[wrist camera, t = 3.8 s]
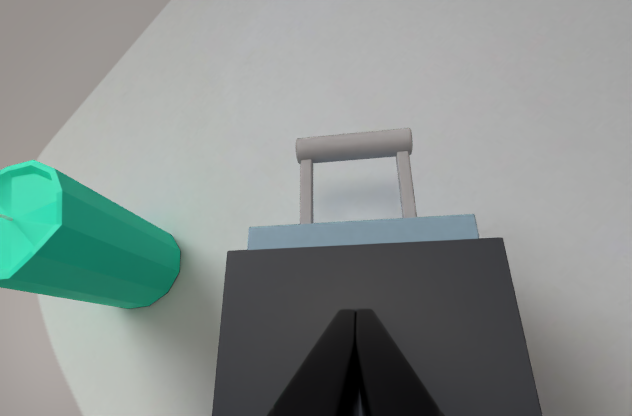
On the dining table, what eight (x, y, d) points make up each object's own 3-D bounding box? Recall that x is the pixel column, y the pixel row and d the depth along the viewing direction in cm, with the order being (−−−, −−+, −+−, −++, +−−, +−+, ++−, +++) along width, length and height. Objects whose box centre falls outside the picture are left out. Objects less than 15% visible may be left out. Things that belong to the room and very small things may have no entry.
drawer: (284, 189, 25) (255, 135, 19) (433, 178, 23) (455, 116, 17) (276, 448, 19) (229, 497, 13) (476, 454, 17) (533, 513, 11)
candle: (92, 302, 25) (-132, 265, 14) (121, 224, 27) (-52, 137, 16) (166, 315, 24) (-14, 284, 13) (191, 232, 26) (55, 144, 15)
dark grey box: (276, 283, 23) (226, 250, 15) (455, 277, 22) (503, 236, 14) (268, 497, 19) (193, 604, 11) (493, 510, 17) (594, 645, 9)
